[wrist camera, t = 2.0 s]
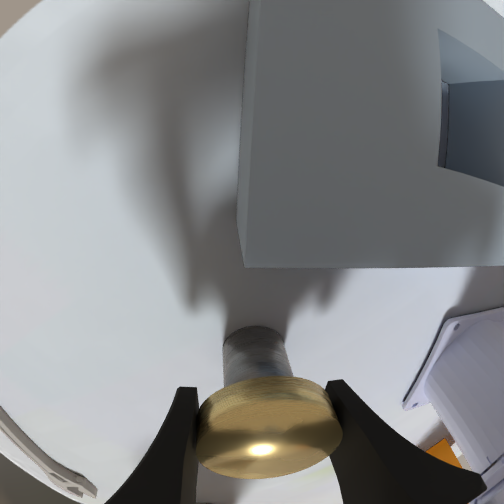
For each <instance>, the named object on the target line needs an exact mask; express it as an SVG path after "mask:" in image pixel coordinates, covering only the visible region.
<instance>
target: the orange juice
mask: <svg viewBox="0 0 504 504" xmlns="http://www.w3.org/2000/svg"><path fill="white" fill-rule="evenodd" d="M426 452H427V453H428V454H430V455H432V456H434V457H436V458H438V459H440V460H442V461H444V462H447V463H449V464H451V465H454V466H456V467H459V468H462V466H461V465H460V463H459V461H458V459H457V458H456V456H455V454H454V452H453V451H452V449H451V447H450V446H449V444H448V442H447V441H446V439H445V438H444V439H443V440H441V441H440V442H439V443H437V444H436V445H434V446H433V447H431V448H430V449H429V450H427V451H426ZM462 469H463V468H462ZM468 504H469V503H468Z"/></svg>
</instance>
